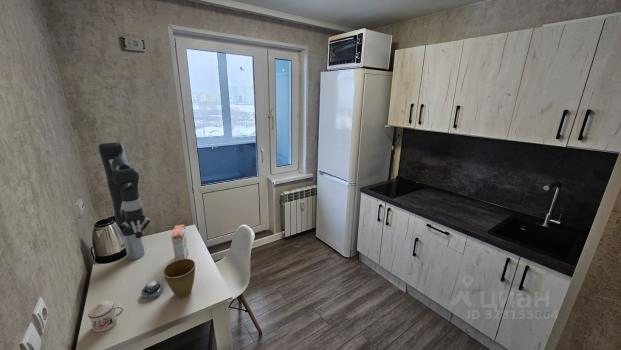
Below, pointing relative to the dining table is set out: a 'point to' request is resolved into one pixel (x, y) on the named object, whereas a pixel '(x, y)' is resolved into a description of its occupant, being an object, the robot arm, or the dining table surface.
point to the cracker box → (180, 242)
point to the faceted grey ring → (152, 295)
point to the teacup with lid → (103, 316)
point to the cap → (152, 287)
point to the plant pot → (180, 276)
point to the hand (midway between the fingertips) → (139, 237)
